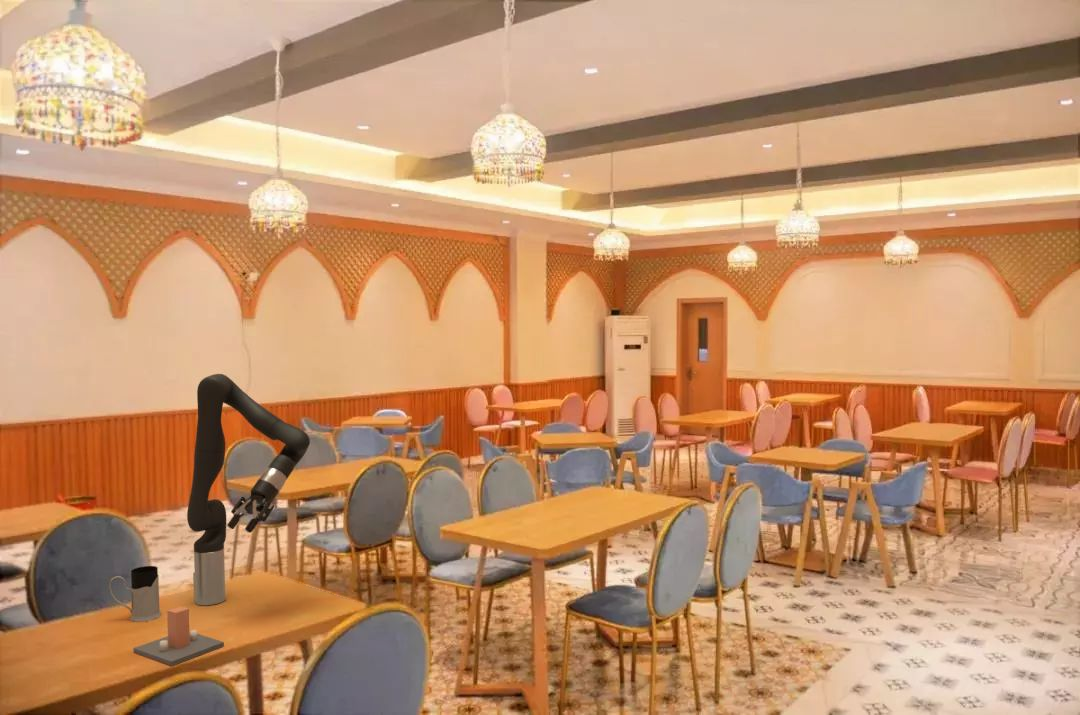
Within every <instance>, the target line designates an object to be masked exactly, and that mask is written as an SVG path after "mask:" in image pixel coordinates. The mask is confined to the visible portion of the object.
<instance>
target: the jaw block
mask: <svg viewBox="0 0 1080 715" xmlns="http://www.w3.org/2000/svg"><path fill="white" fill-rule="evenodd" d="M166 612H167V613H166V614H167V636H168V646H170V647H173V648H176V649H178V648H180V647H183V646H186V645H189V644H190V632H189V631H190V608H188V607H184V606H177V607H173V608H171V609H168V610H166Z"/></svg>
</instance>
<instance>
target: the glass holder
mask: <svg viewBox="0 0 1080 715" xmlns="http://www.w3.org/2000/svg"><path fill="white" fill-rule="evenodd" d="M158 572H159V570H158V566H156V565H155V566H154V565H144V566H140V567H136V568H132V569H131V570H130V575H131V576H130V577H131V580H130V581H131V587H127V584H126V580H125V578H124V577H122V576H120V575H118V576H117V575H116V576H114V577H112V578H111V579H110V581H109V592H110V594H111V596H112V598H113V599H114V601H115V602H117V603H118V604H120V605H121V606H122V607H124V608H126V609H128V610H129V611H130V614H131V616H130V619H129V620H130V621H131V622H135V623H142V622H150V621H154V620H156V619H159V618H160V617H162V613H161V611H160V584H159V583H160V582H159V573H158ZM116 578H117V579H118V578H119V579H121V580H122V581H123V583H124V585H123V586H124V588H125V590H130V594H131V595H130V600H131V603H130V604H131V608H130V607H129V606H127V605H126V604H124V603H122V602H121V601H119V600H118V599H117V598H116V597H115V595H114V593H113V591H112V581H113V580H114V579H116Z"/></svg>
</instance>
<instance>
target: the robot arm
mask: <svg viewBox="0 0 1080 715" xmlns="http://www.w3.org/2000/svg"><path fill="white" fill-rule="evenodd" d="M196 391H197V393H196V394H197V395H196V396H197V424H196V434H195V435H196V436H195V443H194V444H195V445H194V455H193V471H192V472H193V473H192V481H191V482H192V483H191V489H190V495H189V499H188V505H187V506H188V507H187V512H186V515H187V516H186V517H187V520H186V521H187V524H188V527H189V528H190V530H191V531H192V532H195V533H196V532H197V533H198V532H204V533H203V534H202V535H201V536H200V537H199V538H198V539H197V540H196V541H194V544H193V562H194V563H193V565H194V566H193V567H194V571H193V576H192V578H193V579H192V580H193V582H192V583H193V601H194V602H195V605H197V606H212V605H218V604H220V603H223V602H225V600H226V572H225V571H226V569H225V564H226V563H225V542H226V537H227V527H228V528H229V529H231V530H234V529H235V527H236V526H237V525H238V523H239V522H240V521H241V519H242V518H244V517H245V516H249V515H252V518H251V519H250V521H249V522H248V523H247V525H246V527H245V529H244V530H245V531H246V532H247V533H252V532H253V531H254V530H255V528H256V527H257V525H258V524H259V523H261V522H263V523H264V522H266V520H267V519H268V517H269V516H270V515H271V513H272V512H273V509H274V508H275V505H274V503H273V502H274V501H275V499H276V498H277V496H278V494H280V492H281V490H282V489H283V487H284V485H285V484H286V482H287V480H288V478H289V477H290V475H291V474H292V472H293V470H294V469H295V467H296V466H297V465H298V463H299V462H300V461H301V460H302V458H303V457H304V456H305V455H306V453H307V451H308V449H309V446H310V443H311V440H310V436H309V435H308V434H307V432H305V431H304V430H302V429H301V428H299V427H297V426H295V425H293V424H291V423H287V422H285V421H284V420H283V419H281V418H280V417H278V416H277V415H275V414H273V413H272V412H271V411H269V410H268V409H266V408H265V407H264V406H262V405H260V404H259V403H258V402H257V401H255V400H254V399H253V398H252V397H250V396H249V395H248V394H247V393H246V392H245V391H243V389H241V388H240V387H239V385H237V384H236V383H235V382H234V381H233V379H231V378H230V377H229V376H227V375H225V374H224V373H215V374H211V375H209V376H206V377H204V378H203V379H201V380H200V382H199V383H198V385H197V389H196ZM224 404H225V405H228V406H229V407H231V408H233V409H234V410H235V411H236V412H238V413H239V414H240V415H241V416H242V417H243V418H244V419H245V420H246V422H248V424H250V425H251V427H253V428H254V429H255V430H257V431H258V432H260V433H261V434H262V435H263V436H265V437H267V438H268V439H270V440H271V441H277V440H278V441H279V442H281V443H283V444H284V446H283V447H282V449H281V450H280V452H279V454H278V455H276V456H275V457H274V458H273V460H271V462H270V464H269V466H268V467H267V468H266V469H265V470H264V471H263V473H261V475H260V476H259V478H258V479H257V481H256V482H255V484H254V485H253V486H252V487H251V489H250V496H249V497H248V498H246V497H244V496H241V498H240V499H239V500H238V501H237V503H235V505H234V507H233V508H232V509H231V511H230V513H232V514H233V516H232V517H231V518H230V520H229V522H228V523H227V509H226V507H225V504H224V502H222V501H221V500H220V499H215V498H214V499H209V496H210V493H211V492H210V491H211V489H212V486H213V484H214V483H215V481H216V480H217V478H218V476H219V475H220V473H221V471H222V468H223V466H224V465H225V458H226V437H225V433H224V430H223V425H222V412H223V406H224Z"/></svg>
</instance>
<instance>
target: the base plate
mask: <svg viewBox="0 0 1080 715" xmlns="http://www.w3.org/2000/svg"><path fill="white" fill-rule="evenodd" d="M189 632H190V644H189V645H186V646H183V647H180V648H178V649H176V648H173V647H170V646H168V635H167V636H164V637H162V638H159V639H156V640H153V641H150V642H146V643H144V644H141V645H138V646H135V647H133V650H132V651H133V653H134V654H138V655H139V656H143V657H146V658H149V659H152V660H154V661H157V662H159V663H163V664H165V665H168V666H170V667H173V666H176V665H178V664H181V663H183V662H186V661H188V660H189V661H190V660H191V659H194V658H196V657H199V656H201V655H205V654H207V653H210V652H212V651H216V650H218V649H221V648H223V647H225V642H224V641H221V640H219V639H215V638H212V637H209V636H205V635H203V634H199V633H198V630H197V629H192V630H189Z"/></svg>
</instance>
